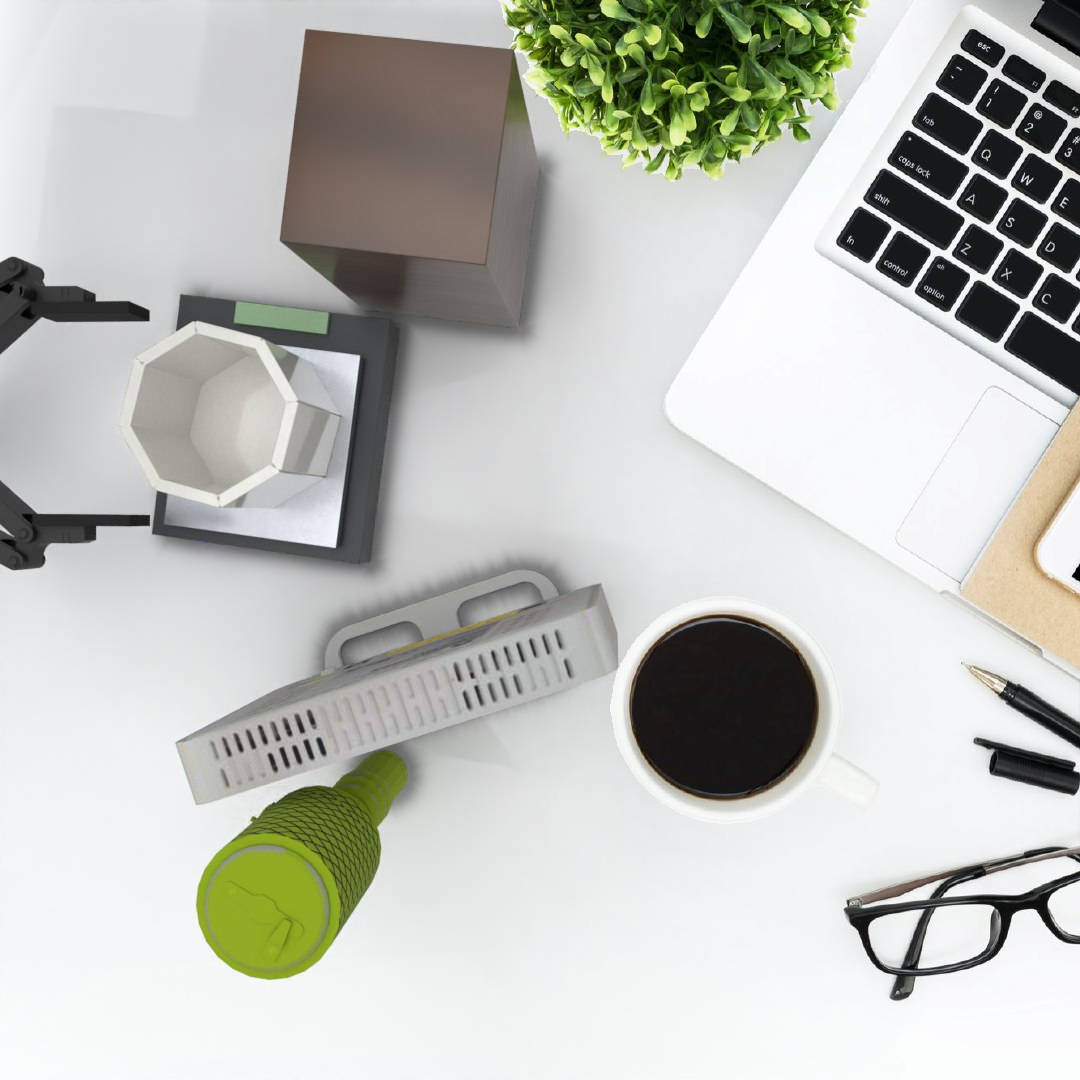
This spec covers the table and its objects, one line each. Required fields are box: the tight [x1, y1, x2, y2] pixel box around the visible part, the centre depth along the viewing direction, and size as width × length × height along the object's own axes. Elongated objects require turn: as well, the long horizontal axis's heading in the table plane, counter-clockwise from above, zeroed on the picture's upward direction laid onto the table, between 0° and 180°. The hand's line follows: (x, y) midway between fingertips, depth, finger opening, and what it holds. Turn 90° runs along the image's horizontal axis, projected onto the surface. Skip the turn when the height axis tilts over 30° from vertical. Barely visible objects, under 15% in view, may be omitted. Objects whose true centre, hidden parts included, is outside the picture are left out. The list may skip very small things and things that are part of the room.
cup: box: [118, 321, 340, 508], centre depth 63 cm, size 11×11×9 cm
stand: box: [279, 28, 541, 329], centre depth 61 cm, size 12×12×18 cm
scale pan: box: [164, 344, 364, 548], centre depth 68 cm, size 14×13×1 cm
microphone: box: [195, 750, 408, 981], centre depth 59 cm, size 8×8×25 cm
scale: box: [151, 293, 401, 565], centre depth 70 cm, size 18×16×3 cm
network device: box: [174, 569, 619, 806], centre depth 61 cm, size 26×9×20 cm, turn 109°
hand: (140, 416), depth 61 cm, fingers open, 13 cm apart
